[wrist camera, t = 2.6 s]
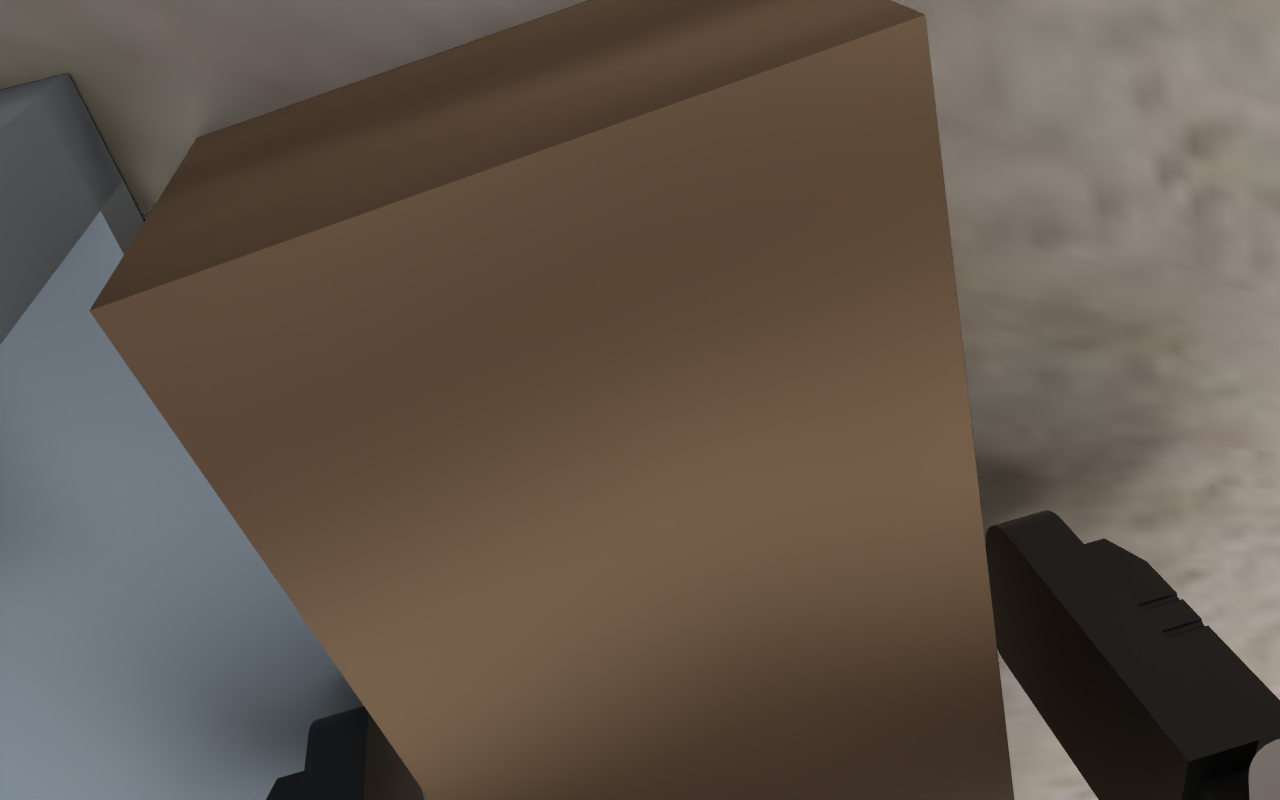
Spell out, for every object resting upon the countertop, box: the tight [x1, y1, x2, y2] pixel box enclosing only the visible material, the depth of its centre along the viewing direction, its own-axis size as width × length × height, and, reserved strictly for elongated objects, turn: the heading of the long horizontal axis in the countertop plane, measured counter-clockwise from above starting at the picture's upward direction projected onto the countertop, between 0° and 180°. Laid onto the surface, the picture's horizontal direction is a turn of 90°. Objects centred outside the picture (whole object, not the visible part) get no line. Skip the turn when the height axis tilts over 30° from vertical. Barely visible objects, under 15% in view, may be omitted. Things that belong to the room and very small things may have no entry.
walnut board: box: [89, 0, 1014, 800], centre depth 12 cm, size 15×6×4 cm, turn 16°
